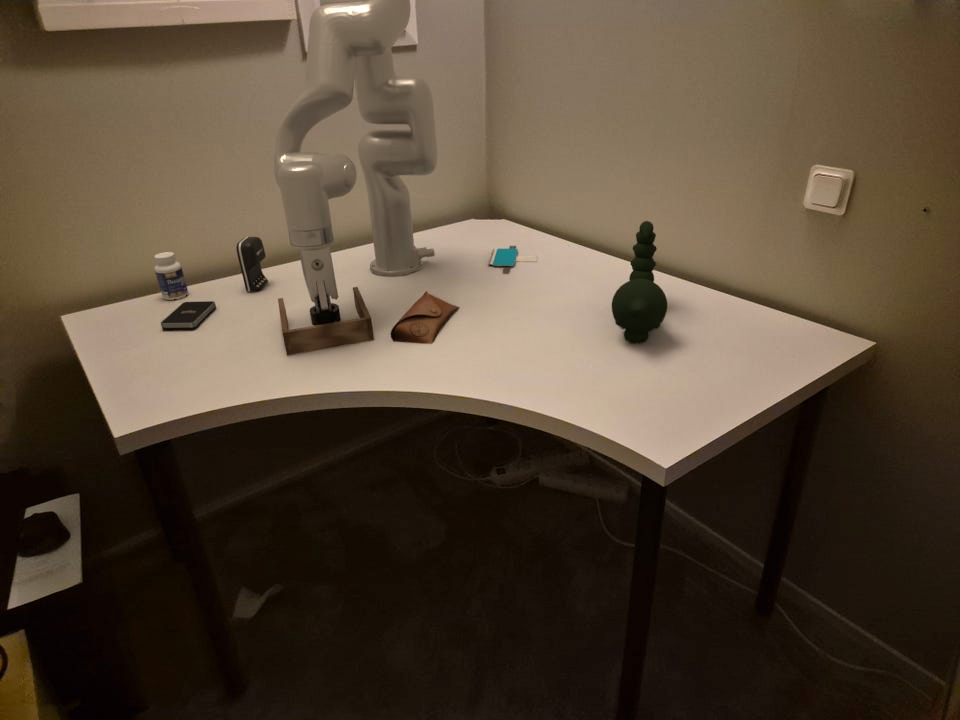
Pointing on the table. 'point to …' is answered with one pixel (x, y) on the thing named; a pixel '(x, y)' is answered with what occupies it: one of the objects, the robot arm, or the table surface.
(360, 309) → the cubby
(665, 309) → the dark green bulbous piece
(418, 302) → the sunglasses case
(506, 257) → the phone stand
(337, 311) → the black lugged cup
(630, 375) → the table surface
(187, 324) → the external hard drive
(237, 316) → the table surface
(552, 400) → the table surface
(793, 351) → the table surface
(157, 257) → the pill bottle
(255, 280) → the battery charger
